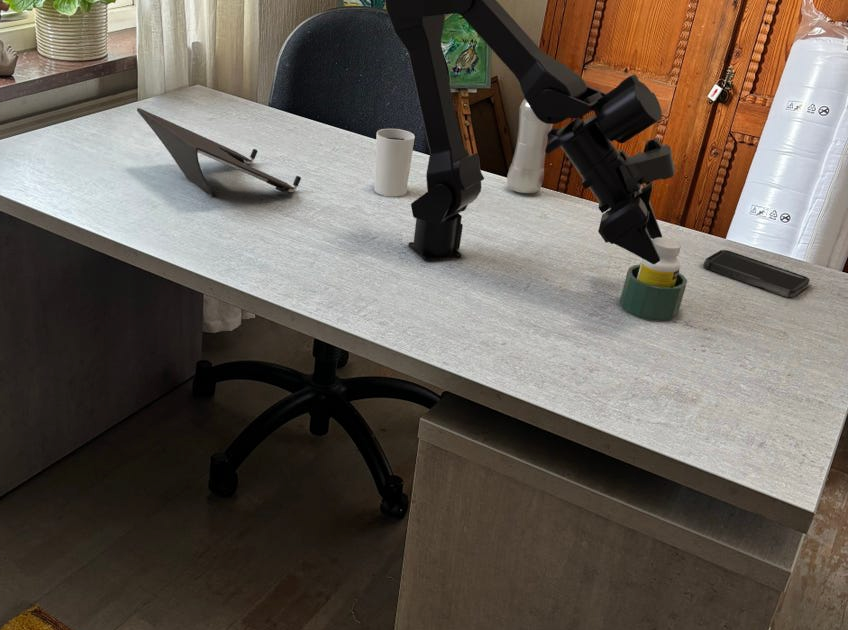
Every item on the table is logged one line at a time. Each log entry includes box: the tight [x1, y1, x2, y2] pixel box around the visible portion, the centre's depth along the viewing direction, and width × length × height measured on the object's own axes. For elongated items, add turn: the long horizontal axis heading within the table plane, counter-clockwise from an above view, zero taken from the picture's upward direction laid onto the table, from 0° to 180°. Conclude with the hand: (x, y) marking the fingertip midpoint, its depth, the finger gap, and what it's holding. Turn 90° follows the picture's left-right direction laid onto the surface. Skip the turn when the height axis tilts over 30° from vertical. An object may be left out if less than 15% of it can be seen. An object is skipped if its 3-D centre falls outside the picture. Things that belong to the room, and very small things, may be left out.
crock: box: [619, 264, 688, 322], centre depth 141 cm, size 8×8×5 cm
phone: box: [703, 249, 811, 298], centre depth 155 cm, size 8×1×15 cm
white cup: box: [373, 128, 416, 198], centre depth 172 cm, size 7×7×10 cm
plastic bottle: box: [506, 98, 554, 194], centre depth 174 cm, size 6×7×20 cm
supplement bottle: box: [637, 236, 682, 287], centre depth 139 cm, size 5×5×10 cm
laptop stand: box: [136, 107, 302, 197], centre depth 168 cm, size 23×23×9 cm
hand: (658, 250), depth 137 cm, fingers open, 9 cm apart
